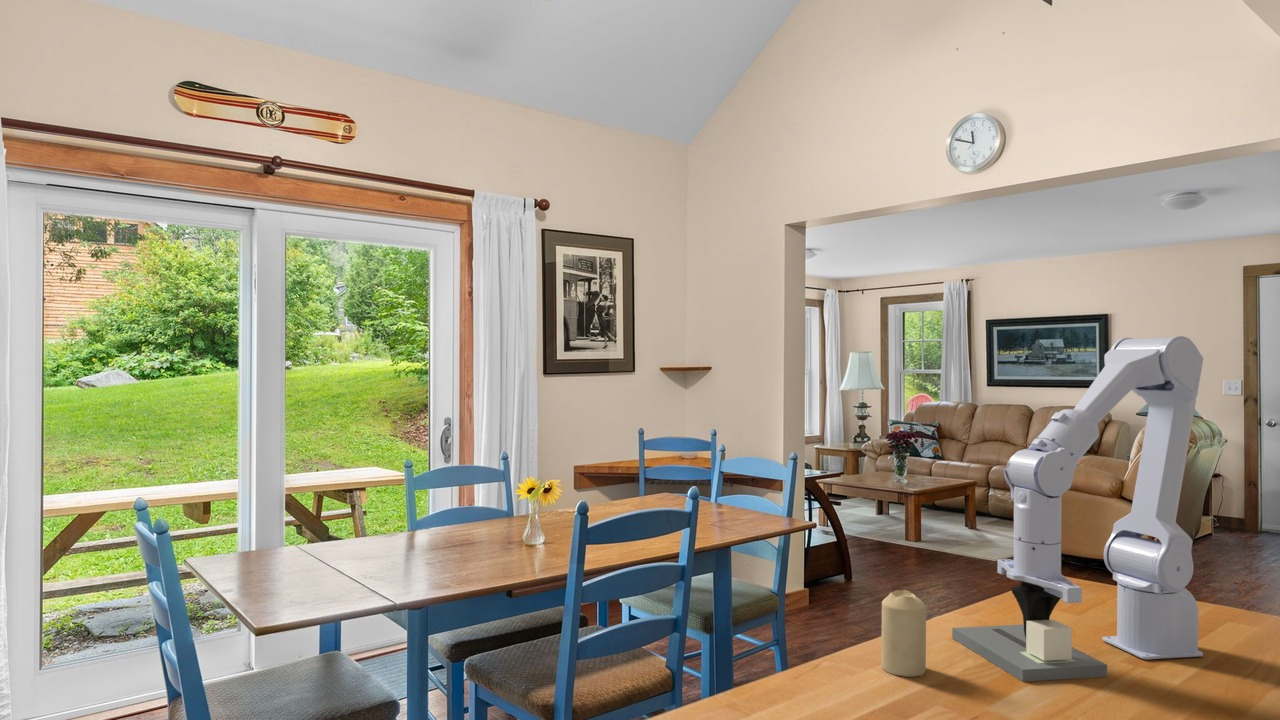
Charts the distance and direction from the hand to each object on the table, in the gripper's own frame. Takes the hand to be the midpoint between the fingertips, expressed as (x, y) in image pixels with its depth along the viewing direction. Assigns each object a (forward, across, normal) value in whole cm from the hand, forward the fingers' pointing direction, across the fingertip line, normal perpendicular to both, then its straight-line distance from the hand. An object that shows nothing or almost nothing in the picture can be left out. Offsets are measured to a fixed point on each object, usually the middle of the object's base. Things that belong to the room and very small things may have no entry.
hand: (1036, 641), depth 107 cm
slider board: (+3, -2, 0) cm, 4 cm away
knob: (+1, +2, 0) cm, 3 cm away
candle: (+3, 0, -19) cm, 19 cm away
